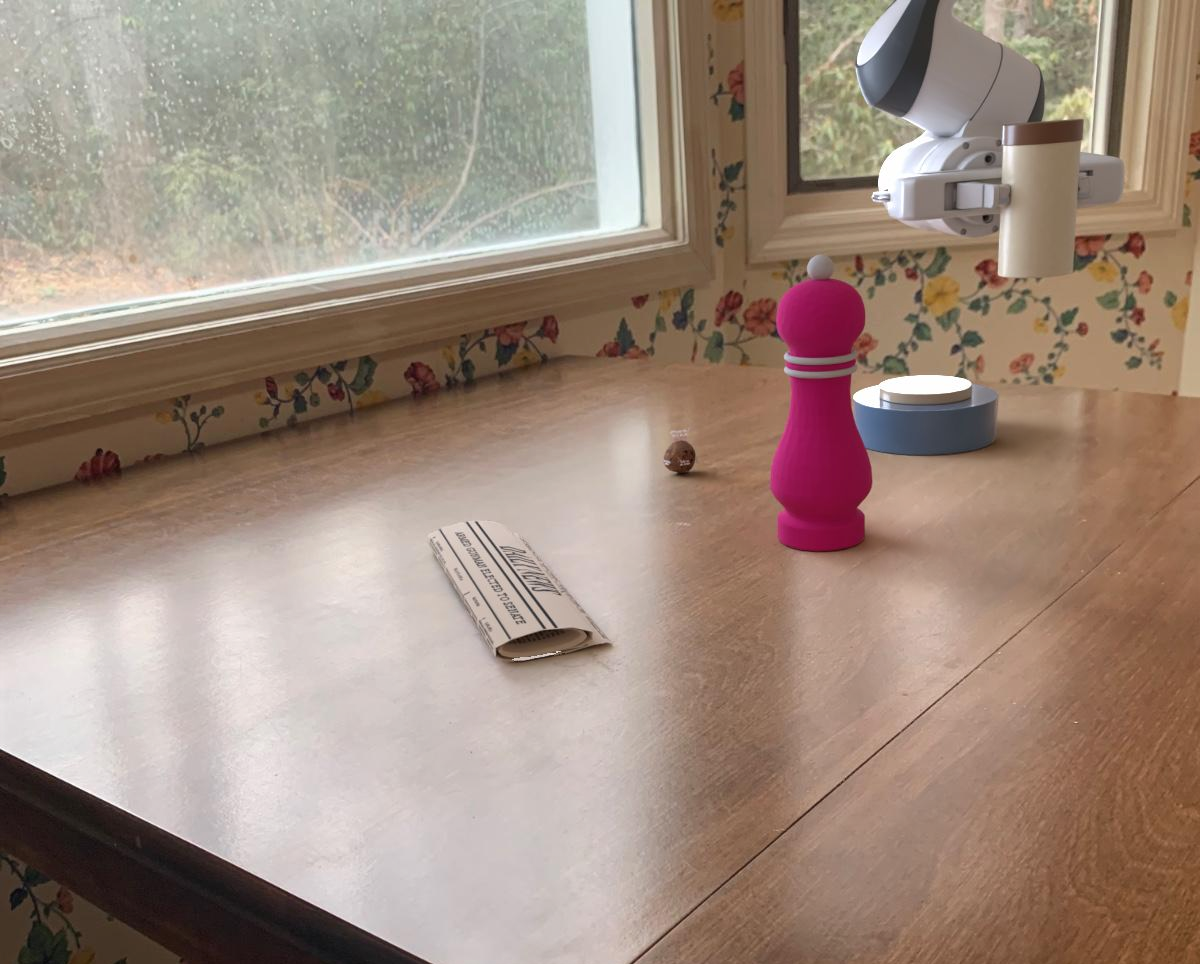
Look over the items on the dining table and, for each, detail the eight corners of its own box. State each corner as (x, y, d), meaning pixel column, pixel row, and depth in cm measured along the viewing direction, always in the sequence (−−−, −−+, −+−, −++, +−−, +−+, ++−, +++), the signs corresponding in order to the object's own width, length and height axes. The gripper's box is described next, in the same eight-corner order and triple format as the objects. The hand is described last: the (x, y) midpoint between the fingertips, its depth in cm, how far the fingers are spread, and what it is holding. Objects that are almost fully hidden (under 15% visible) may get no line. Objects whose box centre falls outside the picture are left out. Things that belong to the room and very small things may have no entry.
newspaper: (428, 549, 92) (425, 527, 91) (519, 535, 93) (517, 513, 93) (496, 666, 70) (493, 638, 70) (611, 645, 72) (609, 617, 72)
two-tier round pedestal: (960, 416, 120) (962, 366, 118) (1021, 446, 108) (1024, 391, 106) (834, 429, 119) (834, 378, 117) (881, 461, 107) (882, 405, 105)
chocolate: (668, 479, 106) (666, 434, 104) (661, 472, 108) (659, 428, 106) (701, 474, 106) (699, 430, 105) (693, 468, 108) (692, 425, 107)
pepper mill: (826, 561, 84) (826, 262, 76) (750, 540, 89) (743, 259, 82) (892, 535, 88) (898, 250, 80) (816, 516, 93) (815, 247, 86)
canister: (1051, 266, 106) (1060, 119, 102) (1088, 273, 100) (1098, 118, 96) (983, 273, 105) (989, 125, 101) (1016, 280, 99) (1024, 124, 95)
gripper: (865, 160, 110) (924, 161, 97) (1077, 142, 112) (1163, 141, 99) (864, 232, 112) (923, 243, 99) (1073, 213, 114) (1156, 221, 102)
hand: (1045, 192), depth 99 cm, fingers closed on canister, 6 cm apart
